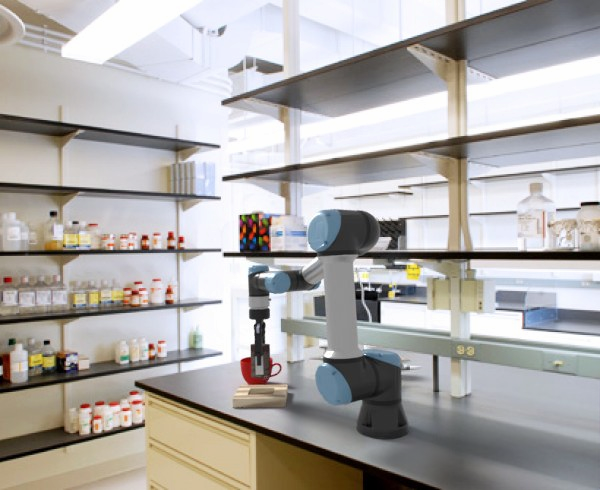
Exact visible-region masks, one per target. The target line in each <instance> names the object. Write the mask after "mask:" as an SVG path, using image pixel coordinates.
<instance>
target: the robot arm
mask: <svg viewBox="0 0 600 490" xmlns="http://www.w3.org/2000/svg"><path fill="white" fill-rule="evenodd" d="M306 235H307V236H306V237H307V242H308V245H309V247H310V248H311V249H312V250H313V251H315V252H316V256H315V257H314V258H313V259H312V260H310V261H309V262H307V264H306V265H304V266H303V267H302V268H300V269H292V270H291V269H290V270H273V271H272V270H270V267H269V265H268V264H251V265H249V266H248V269H247V270H248V271H247V272H248V274H247V277H248V278H247V280H248V281H247V282H248V285H247V287H248V307H249V309H248V319H250V320H252V321H253V320H255V323H254V324H253V331H254V334H253V335H254V336H253V337H254V343H255V353H254V354H253V356H255V366H256V375H263V374H264V373H263V356H262V355H263V344H266V327H267V326H266V321H265V320H269V319H270V317H271V309H270V308H269V307H270V302H271V301H272V298H270V294H273V295H281V294H285V293H291V292H292V293H293V292H310V291H314V290H317V289H319V288H320V285H321V284H322V280H323V285H324V286H323V289H324V306H325V323H326V340H327V341H326V343H327V348H326V350H325V352H324V353H323V354H322V363H321V364H319V365H318V366H317V367H316V370H315V374H314V377H315V384H316V387H317V390H318V393H319V394H320V395H321V397H322V399H323V400H324V401H325V402H327V404H330V405H332V406H342V405H345V406H346V405H349V404H351V403H355V402H358V401H361V405H360V409H359V411H358V415H357V419H356V430H357V432H358V433H360V434H361V435H362V436H363V435H364V436H365V437H369V438H374V439H396V438H400V437H404V436H405V435H407V434H408V433H409V431H410V430H409V426H410V425H409V421H408V417H407V414H406V411H405V409H404V406H403V401H402V400H403V399H402V398H403V397H402V392H403V391H402V368H403V367H402V364H401V356H400V355H399V354H398V353H397V352H395V351H391V350H386V351H385V350H376V349H364V348H363V349H361V348H360V347H359V337H358V322H357V321H358V319H357V304H356V303H357V302H356V301H357V300H356V287H355V286H356V285H355V272H354V270H355V269H354V262H355V261H356V260H357V258H358V257H359V256H363V255H365V254H366V253H368V252H370V251H371V250H372V249H373V248H374V247H376V245H377V244H378V241H380V238H381V237H380V236H381V227H380V223H379V221H378V219H377V218H376V217H375V215H373V214H371V213H370V212H368V211H365V210H359V209H355V210H354V209H353V210H352V209H339V208H338V209H337V208H331V209H329V208H328V209H322V210H319V211H317V212H316V213H315V214H314V215H313V216H312V218H311V220H309V223H308V227H307V234H306Z"/></svg>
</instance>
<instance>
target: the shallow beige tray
mask: <svg viewBox="0 0 600 490" xmlns="http://www.w3.org/2000/svg"><path fill="white" fill-rule="evenodd" d="M288 390H289V389H288V384H265V385H249V384H245V385H242V384H241V385H239V386H238V388H237V390H236V392H235V393H234V396H233V397H232V408H234V409H236V408H238V407H239V408H241V407H243V408H285V407H286V404H287V399H288V393H289V391H288ZM239 408H238V409H239ZM241 409H242V408H241Z"/></svg>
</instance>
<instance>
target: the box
mask: <svg viewBox="0 0 600 490" xmlns="http://www.w3.org/2000/svg"><path fill="white" fill-rule="evenodd" d="M270 345H271V344H269V343H265V344H263V355H262V356H263V373H264V374H263V375H256V366H255V356H253V354H254V353H255V342H253V343H252V344H250V357H251V377H253V378H258V379H263V380H264V379H267V378H269V377H270V357H271V348H270V347H271V346H270ZM270 378H271V377H270ZM270 378H269V379H270Z"/></svg>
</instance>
